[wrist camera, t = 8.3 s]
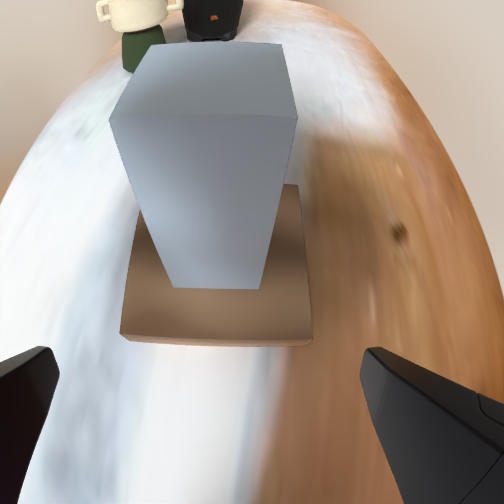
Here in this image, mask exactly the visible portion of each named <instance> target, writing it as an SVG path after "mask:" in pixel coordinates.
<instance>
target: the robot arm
mask: <svg viewBox="0 0 504 504" xmlns="http://www.w3.org/2000/svg"><path fill="white" fill-rule="evenodd" d="M59 375H60V372H59V368H58V365H57V362H56V360H55V357H54V354H53V351H52V350H51V348H49V347H45V346H37V347H35V348H32V349H30V350H28V351H25V352H23V353H21V354H18V355H16V356H14V357H11V358H9V359H7V360H4V361H2V362H0V504H17V503H18V499H19V495H20V492H21V488H22V485H23V482H24V479H25V476H26V472H27V469H28V466H29V463H30V460H31V458H32V455H33V452H34V449H35V446H36V444H37V441H38V438H39V436H40V433H41V431H42V428H43V425H44V423H45V420H46V418H47V415H48V412H49V408H50V405H51V402H52V398H53V395H54V392H55V389H56V386H57V383H58V380H59ZM360 381H361V384H362V387H363V391H364V394H365V398H366V401H367V405H368V409H369V412H370V416H371V419H372V422H373V425H374V428H375V430H376V433H377V435H378V438H379V440H380V442H381V445H382V447H383V450H384V452H385V455H386V457H387V460H388V462H389V465H390V468H391V470H392V473H393V475H394V478H395V480H396V483H397V486H398V488H399V491H400V494H401V496H402V499H403V502H404V504H504V404H503V403H500V402H498V401H495V400H493V399H491V398H488V397H486V396H484V395H482V394H480V393H478V394H477V393H476V392H475V391H473V390H471V389H468V388H466V387H464V386H462V385H460V384H457V383H455V382H453V381H451V380H449V379H447V378H444V377H442V376H440V375H438V374H436V373H434V372H432V371H430V370H427V369H425V368H423V367H421V366H419V365H417V364H415V363H413V362H411V361H408V360H406V359H404V358H402V357H400V356H398V355H396V354H394V353H392V352H390V351H388V350H386V349H384V348H382V347H372V348H367V349H366V350H365V352H364V355H363V360H362V365H361V369H360Z"/></svg>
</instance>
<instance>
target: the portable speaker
mask: <svg viewBox="0 0 504 504" xmlns="http://www.w3.org/2000/svg"><path fill="white" fill-rule="evenodd" d="M242 5H243V0H184V6H183V9H182V13H183V18H184V23H185V28H186V30H187V38H188V39H189V40H190V41H194V42H202V40H203V39H210V38H220V39H221V40H222V41H227V40H231V39H234V37H235V36H236V32H237V27H238V24H239V19H240V15H241V10H242Z"/></svg>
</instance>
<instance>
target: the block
mask: <svg viewBox="0 0 504 504" xmlns="http://www.w3.org/2000/svg"><path fill="white" fill-rule="evenodd" d="M297 119H298V116H297V111H296V107H295V102H294V97H293V92H292V88H291V83H290V79H289V74H288V70H287V66H286V61H285V57H284V53H283V49H282V45H281V44H270V43H254V42H187V43H171V44H159V45H151V46H150V48H149V49H148V51H147V53H146V54H145V56H144V57H143V59H142V60H141V62H140V64H139V65H138V67H137V69H136V70H135V72H134V74H133V75H132V77H131V79H130V80H129V82H128V84H127V86H126V88H125V89H124V91H123V93H122V95H121V97H120V98H119V100H118V102H117V104H116V106H115V108H114V110H113V112H112V114H111V116H110V118H109V122H110V125H111V129H112V132H113V135H114V138H115V141H116V144H117V147H118V150H119V153H120V156H121V159H122V161H123V164H124V167H125V170H126V173H127V175H128V178H129V181H130V184H131V186H132V189H133V192H134V194H135V197H136V200H137V202H138V205H139V207H140V210H141V213H142V215H143V218H144V220H145V223H146V225H147V228H148V230H149V232H150V235H151V237H152V240H153V242H154V244H155V247H156V249H157V251H158V254H159V256H160V258H161V261H162V263H163V265H164V268H165V270H166V272H167V274H168V277H169V279H170V281H171V283H172V285H173V287H175V288H209V289H259V287H260V283H261V279H262V274H263V270H264V266H265V262H266V257H267V253H268V249H269V244H270V240H271V236H272V231H273V227H274V223H275V218H276V214H277V210H278V205H279V201H280V196H281V192H282V187H283V183H284V178H285V174H286V169H287V165H288V160H289V156H290V151H291V147H292V142H293V137H294V133H295V128H296V124H297Z"/></svg>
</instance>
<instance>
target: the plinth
mask: <svg viewBox="0 0 504 504" xmlns="http://www.w3.org/2000/svg"><path fill="white" fill-rule="evenodd" d="M120 334H121V335H122V336H123V337H125V338H126V339H128V340H129V341H137V342H149V343H163V344H179V345H200V346H244V347H263V346H305V345H306V344H307V343H309V342H310V341H311V340H312V339H313V335H312V321H311V307H310V295H309V283H308V272H307V262H306V252H305V242H304V233H303V224H302V215H301V207H300V199H299V191H298V185H290V184H283V187H282V192H281V196H280V201H279V205H278V210H277V214H276V218H275V223H274V227H273V231H272V236H271V240H270V244H269V249H268V253H267V257H266V262H265V266H264V270H263V274H262V279H261V283H260V287H259V289H209V288H175V287H173V285H172V283H171V281H170V279H169V277H168V274H167V272H166V270H165V268H164V265H163V263H162V261H161V258H160V256H159V254H158V251H157V249H156V247H155V244H154V242H153V240H152V237H151V235H150V232H149V230H148V228H147V225H146V223H145V220H144V218H143V215H142V213H141V210H140V212H139V216H138V221H137V225H136V230H135V235H134V240H133V246H132V251H131V256H130V262H129V268H128V274H127V280H126V287H125V294H124V301H123V308H122V316H121V324H120Z"/></svg>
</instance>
